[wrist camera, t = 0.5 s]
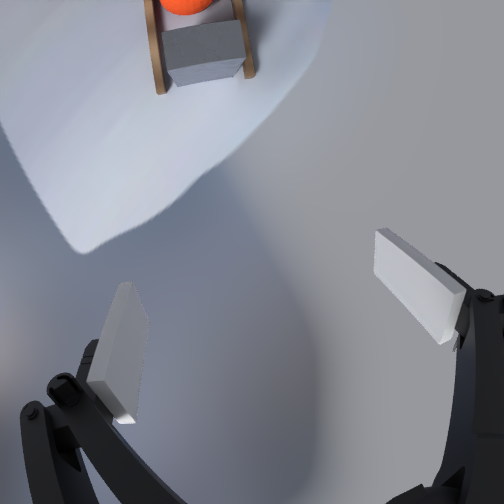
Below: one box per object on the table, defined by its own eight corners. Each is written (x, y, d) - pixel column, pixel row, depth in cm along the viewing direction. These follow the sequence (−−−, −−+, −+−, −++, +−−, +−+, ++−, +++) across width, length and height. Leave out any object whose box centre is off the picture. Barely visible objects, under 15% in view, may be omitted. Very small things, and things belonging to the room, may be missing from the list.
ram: (172, 54, 30) (160, 26, 20) (227, 45, 31) (238, 14, 20) (177, 86, 32) (167, 70, 22) (232, 76, 33) (246, 57, 22)
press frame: (143, -23, 24) (131, -53, 16) (231, -37, 25) (240, -70, 17) (158, 95, 33) (146, 86, 24) (252, 78, 34) (267, 65, 25)
